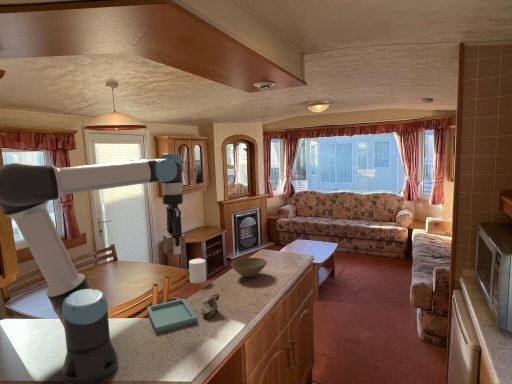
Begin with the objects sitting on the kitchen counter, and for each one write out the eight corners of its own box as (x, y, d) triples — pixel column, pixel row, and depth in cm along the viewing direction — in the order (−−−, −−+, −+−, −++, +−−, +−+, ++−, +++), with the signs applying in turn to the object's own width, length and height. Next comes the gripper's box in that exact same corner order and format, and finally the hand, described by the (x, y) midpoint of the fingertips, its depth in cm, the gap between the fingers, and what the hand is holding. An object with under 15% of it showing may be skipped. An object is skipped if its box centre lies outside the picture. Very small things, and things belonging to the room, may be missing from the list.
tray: (197, 322, 128) (197, 317, 127) (156, 333, 121) (155, 327, 120) (183, 303, 145) (183, 298, 144) (147, 311, 138) (146, 306, 137)
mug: (192, 264, 164) (183, 258, 174) (193, 284, 165) (185, 277, 175) (207, 261, 168) (198, 255, 178) (208, 281, 169) (199, 274, 179)
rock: (227, 313, 131) (223, 290, 138) (211, 311, 127) (209, 287, 134) (214, 324, 135) (212, 301, 142) (199, 321, 131) (197, 298, 138)
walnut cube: (185, 253, 130) (184, 235, 129) (167, 255, 126) (166, 237, 126) (181, 249, 136) (180, 232, 135) (163, 251, 133) (162, 234, 132)
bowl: (233, 270, 183) (233, 256, 182) (267, 270, 183) (266, 255, 182) (229, 283, 165) (229, 268, 164) (267, 283, 164) (266, 267, 163)
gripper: (189, 195, 122) (191, 256, 124) (176, 191, 139) (178, 244, 142) (168, 196, 118) (171, 259, 121) (157, 192, 136) (160, 247, 138)
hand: (174, 251), depth 131 cm, fingers closed on walnut cube, 7 cm apart
